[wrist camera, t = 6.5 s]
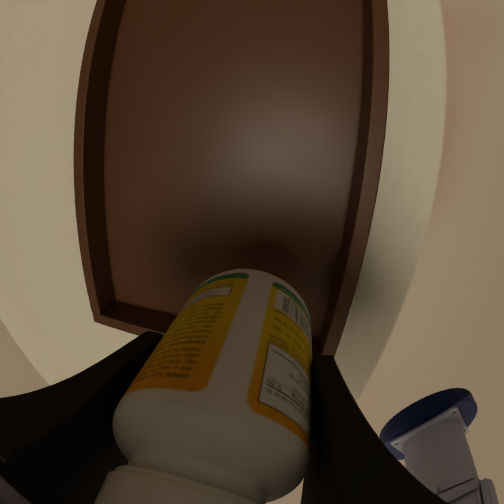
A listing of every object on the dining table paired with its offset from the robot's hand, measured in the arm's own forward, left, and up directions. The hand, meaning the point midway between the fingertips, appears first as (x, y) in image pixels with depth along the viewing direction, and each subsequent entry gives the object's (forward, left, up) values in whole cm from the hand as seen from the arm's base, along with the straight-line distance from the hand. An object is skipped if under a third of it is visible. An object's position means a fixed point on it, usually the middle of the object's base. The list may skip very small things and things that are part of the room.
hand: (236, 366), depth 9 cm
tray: (+9, -6, -7) cm, 13 cm away
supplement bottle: (0, 0, -3) cm, 3 cm away
